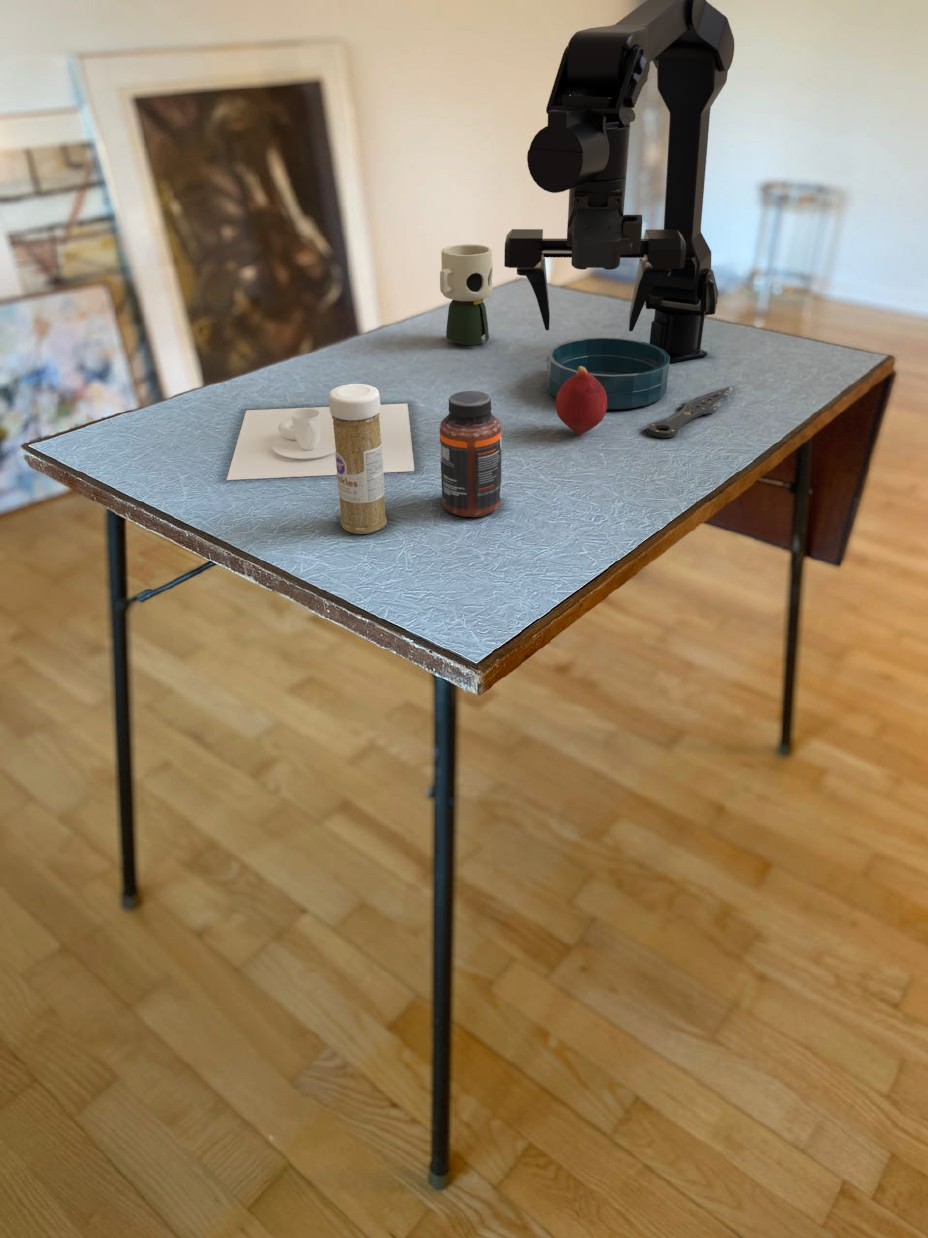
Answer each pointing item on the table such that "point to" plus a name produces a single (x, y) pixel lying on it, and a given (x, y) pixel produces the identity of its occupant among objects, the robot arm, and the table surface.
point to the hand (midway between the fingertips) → (588, 329)
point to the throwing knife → (689, 413)
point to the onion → (581, 402)
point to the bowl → (612, 369)
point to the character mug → (466, 291)
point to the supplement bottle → (470, 456)
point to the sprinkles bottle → (358, 457)
